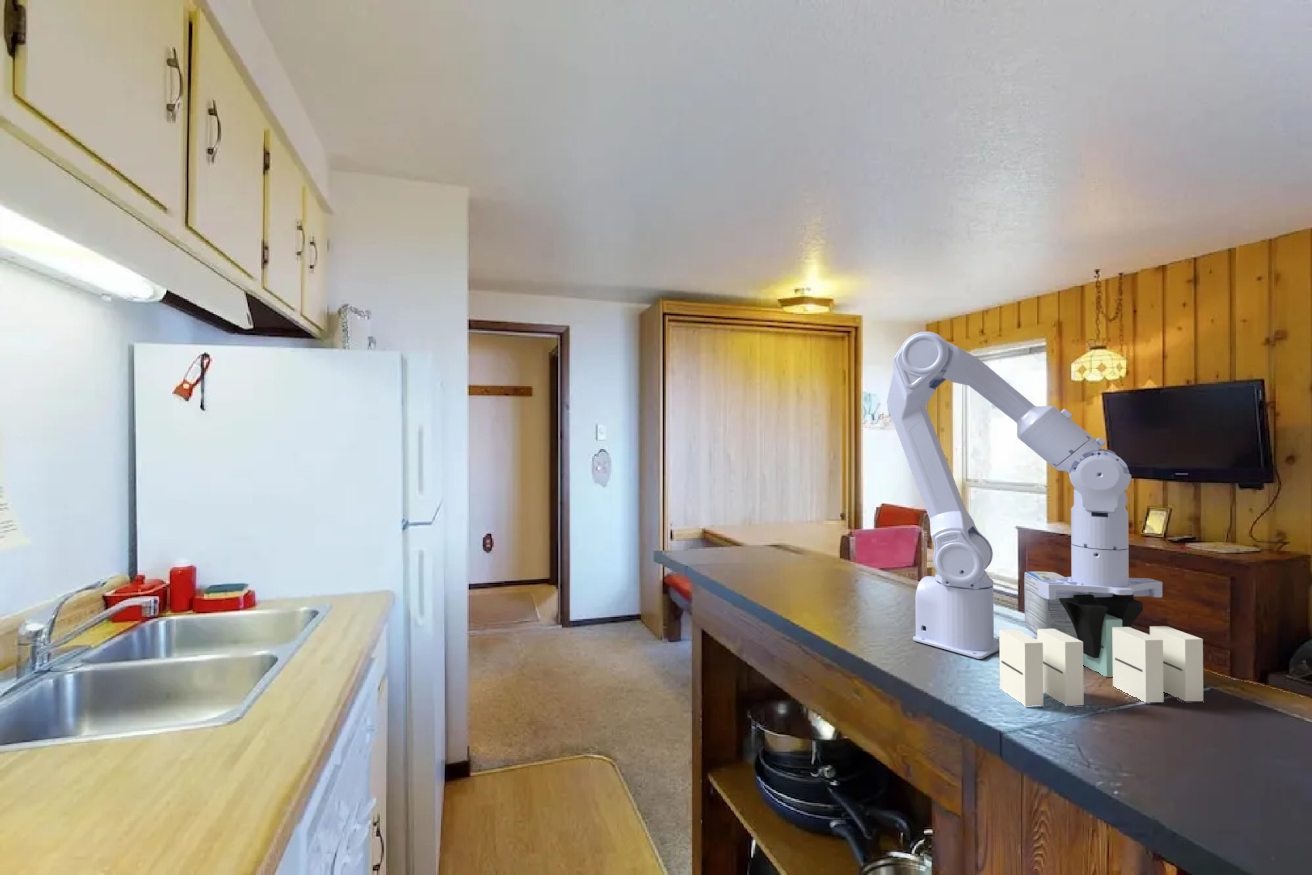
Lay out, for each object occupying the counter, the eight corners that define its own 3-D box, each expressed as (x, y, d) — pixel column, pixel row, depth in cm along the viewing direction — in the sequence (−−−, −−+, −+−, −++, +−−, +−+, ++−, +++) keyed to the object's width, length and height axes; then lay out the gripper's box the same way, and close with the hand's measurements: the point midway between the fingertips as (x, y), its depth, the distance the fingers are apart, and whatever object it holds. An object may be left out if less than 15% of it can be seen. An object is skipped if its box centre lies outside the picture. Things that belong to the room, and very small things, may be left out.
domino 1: (1017, 689, 68) (1016, 629, 68) (1043, 707, 63) (1043, 642, 63) (999, 690, 68) (999, 629, 68) (1025, 707, 63) (1024, 643, 63)
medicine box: (1082, 646, 81) (1082, 584, 81) (1047, 644, 82) (1046, 583, 82) (1056, 628, 89) (1055, 571, 89) (1023, 626, 90) (1023, 570, 90)
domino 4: (1129, 686, 68) (1129, 626, 68) (1163, 703, 64) (1163, 639, 64) (1112, 687, 68) (1112, 627, 68) (1145, 704, 64) (1145, 640, 64)
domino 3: (1094, 663, 75) (1093, 608, 75) (1122, 677, 71) (1122, 619, 71) (1078, 663, 75) (1078, 609, 75) (1106, 677, 71) (1105, 619, 71)
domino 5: (1166, 685, 69) (1166, 626, 69) (1203, 702, 64) (1203, 639, 64) (1149, 686, 68) (1149, 626, 68) (1185, 703, 64) (1184, 639, 64)
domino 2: (1054, 688, 68) (1054, 628, 68) (1083, 706, 64) (1083, 641, 64) (1037, 689, 68) (1036, 628, 68) (1065, 706, 64) (1064, 642, 64)
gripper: (1066, 553, 69) (1067, 668, 69) (1185, 551, 69) (1186, 665, 69) (1026, 542, 76) (1027, 647, 76) (1134, 540, 77) (1135, 644, 77)
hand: (1100, 654), depth 73 cm, fingers closed on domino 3, 2 cm apart
